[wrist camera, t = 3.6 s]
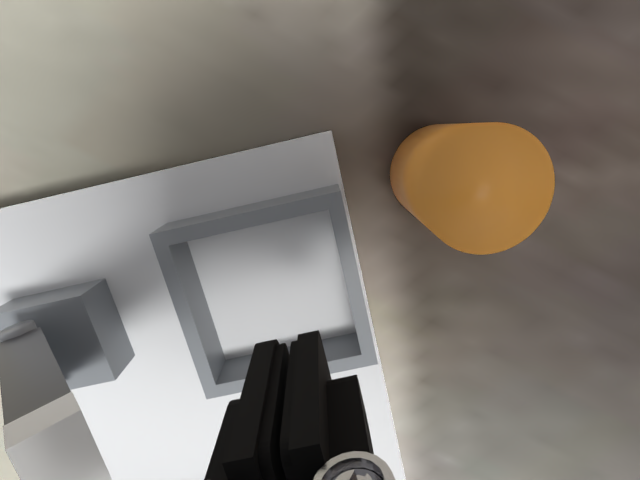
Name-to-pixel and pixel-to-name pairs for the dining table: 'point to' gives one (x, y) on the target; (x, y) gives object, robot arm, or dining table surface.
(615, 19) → the dining table surface
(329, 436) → the robot arm
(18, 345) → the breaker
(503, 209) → the cap
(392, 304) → the dining table surface
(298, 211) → the panel
